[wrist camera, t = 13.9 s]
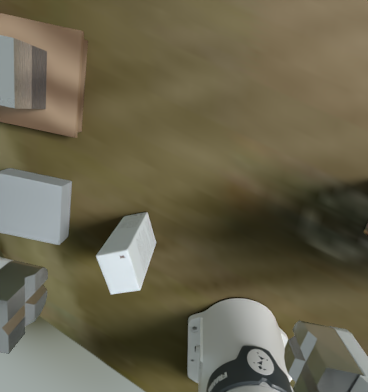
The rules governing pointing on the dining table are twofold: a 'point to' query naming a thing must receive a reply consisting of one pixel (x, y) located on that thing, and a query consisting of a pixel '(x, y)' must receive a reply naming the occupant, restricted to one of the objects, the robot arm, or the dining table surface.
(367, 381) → the robot arm
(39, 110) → the tan flat square slab
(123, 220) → the skincare box
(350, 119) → the dining table surface
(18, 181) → the grey stand
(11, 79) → the block
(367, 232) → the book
